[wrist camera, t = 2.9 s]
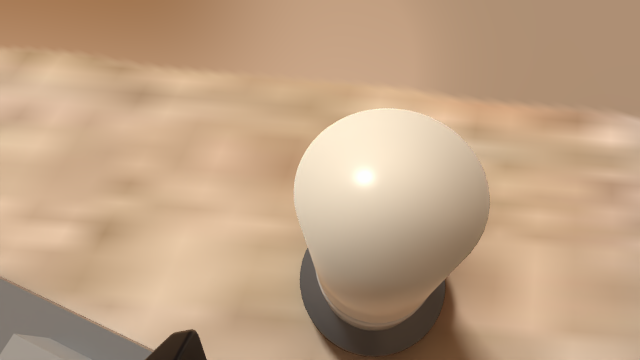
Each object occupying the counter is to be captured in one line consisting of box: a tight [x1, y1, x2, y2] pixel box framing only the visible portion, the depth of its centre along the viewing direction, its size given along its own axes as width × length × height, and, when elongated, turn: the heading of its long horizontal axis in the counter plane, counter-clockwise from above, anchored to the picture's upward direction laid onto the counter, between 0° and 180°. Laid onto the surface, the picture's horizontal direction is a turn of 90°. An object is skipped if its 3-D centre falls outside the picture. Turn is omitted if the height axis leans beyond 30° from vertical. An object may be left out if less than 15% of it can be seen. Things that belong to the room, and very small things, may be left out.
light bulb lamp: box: [294, 108, 490, 357], centre depth 13 cm, size 6×6×10 cm
